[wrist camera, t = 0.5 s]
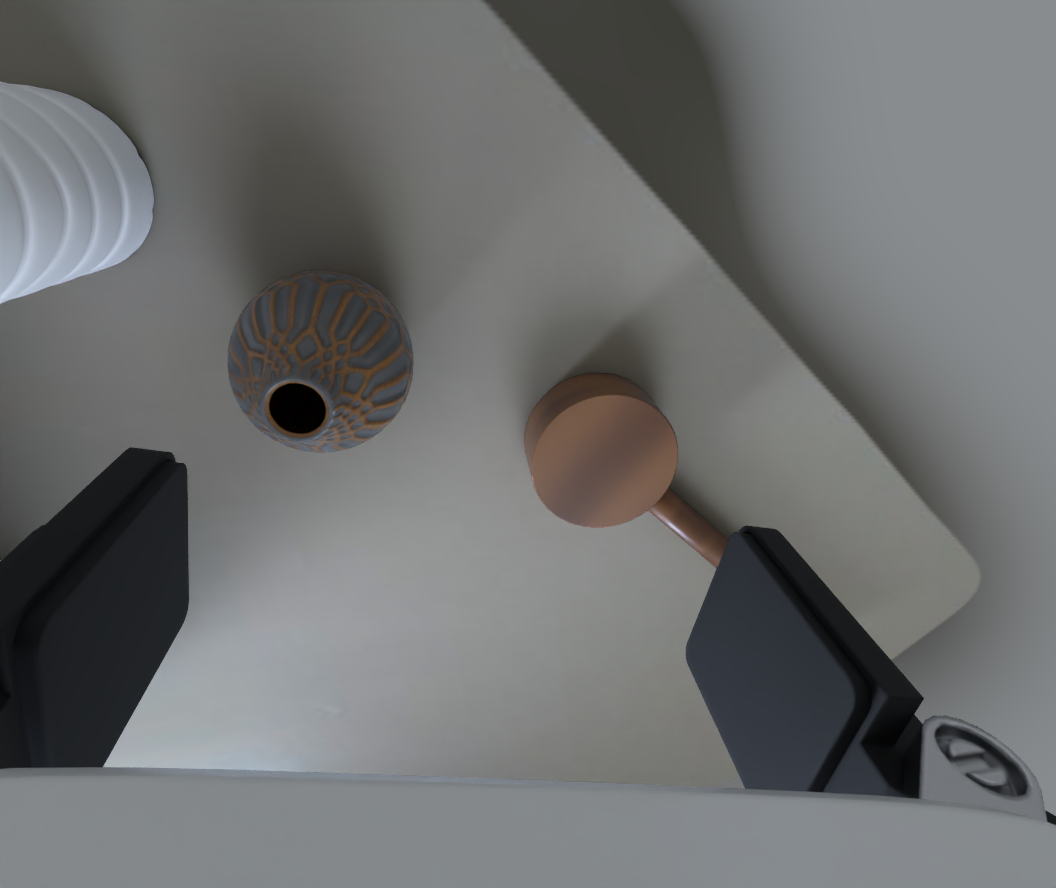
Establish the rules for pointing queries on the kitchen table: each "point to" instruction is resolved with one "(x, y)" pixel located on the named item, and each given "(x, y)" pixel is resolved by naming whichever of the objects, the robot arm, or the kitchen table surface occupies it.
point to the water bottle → (65, 191)
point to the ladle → (610, 459)
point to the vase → (320, 361)
